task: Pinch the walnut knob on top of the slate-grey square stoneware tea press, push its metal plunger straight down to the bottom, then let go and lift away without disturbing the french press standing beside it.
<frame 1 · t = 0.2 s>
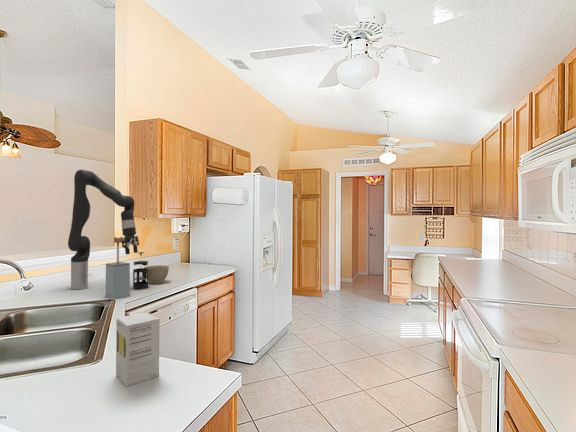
hand: (131, 253, 202), 23 cm above the worktop, tool pointing down, fingers open, 8 cm apart
french press: (141, 288, 210), on the worktop
plunger: (117, 258, 187), point 22 cm above the worktop, slide at 8.0 cm
planter bowl: (156, 283, 226), on the worktop
supplement box: (137, 376, 95), on the worktop
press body: (117, 296, 187), on the worktop
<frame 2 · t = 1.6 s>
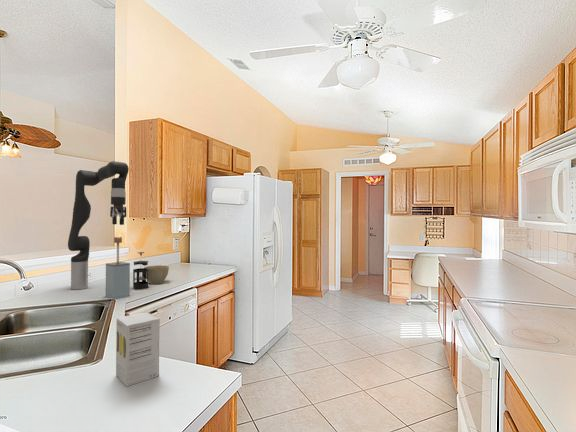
hand: (118, 224, 187), 41 cm above the worktop, tool pointing down, fingers open, 8 cm apart
nothing on the worktop moved.
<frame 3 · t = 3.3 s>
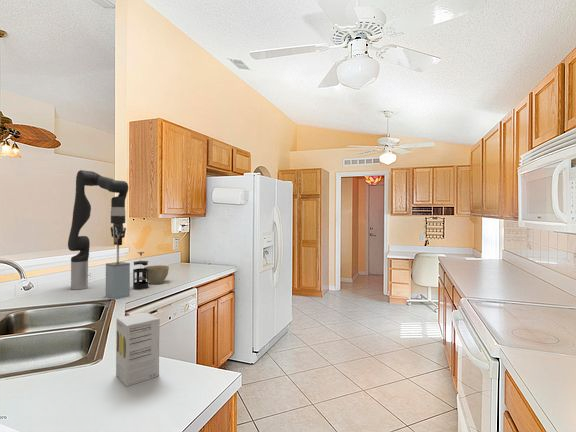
hand: (117, 244, 187), 30 cm above the worktop, tool pointing down, fingers closed on plunger, 4 cm apart
plunger: (117, 258, 187), point 22 cm above the worktop, slide at 8.0 cm, touching gripper
everything else where it was.
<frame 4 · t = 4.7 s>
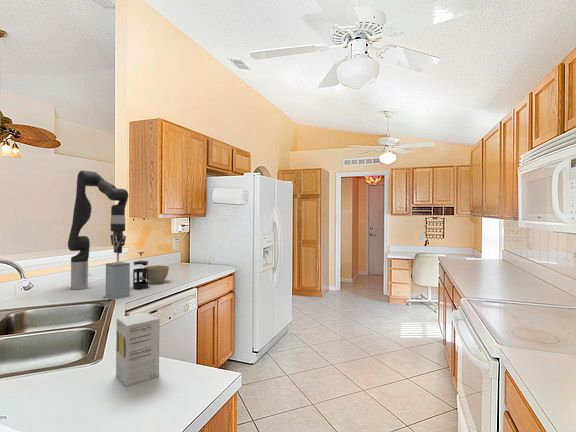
hand: (117, 252, 187), 25 cm above the worktop, tool pointing down, fingers closed on plunger, 4 cm apart
plunger: (117, 266, 187), point 17 cm above the worktop, slide at 3.4 cm, touching gripper
everything else where it was.
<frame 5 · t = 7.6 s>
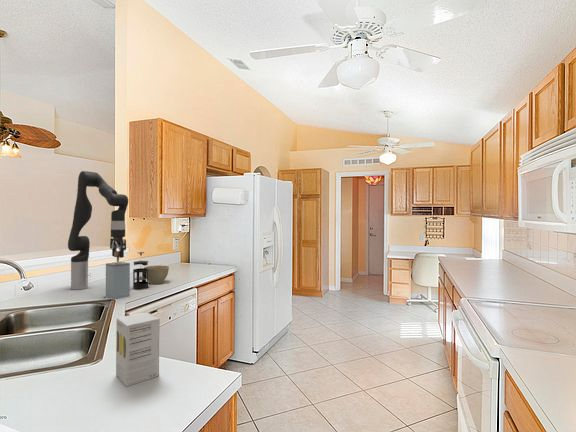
hand: (117, 256, 187), 23 cm above the worktop, tool pointing down, fingers open, 8 cm apart
plunger: (117, 272, 187), point 14 cm above the worktop, slide at -0.1 cm
everything else where it was.
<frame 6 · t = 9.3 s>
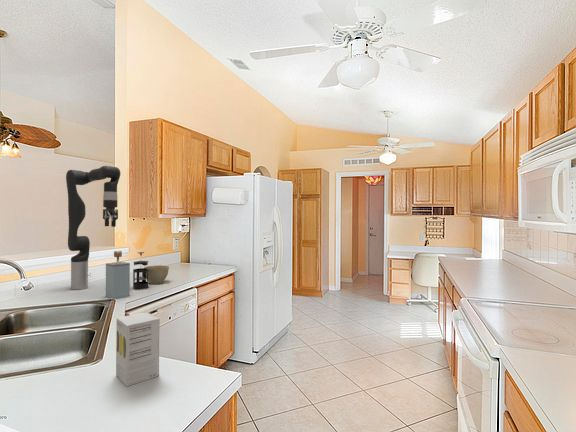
hand: (110, 226, 195), 40 cm above the worktop, tool pointing down, fingers open, 8 cm apart
nothing on the worktop moved.
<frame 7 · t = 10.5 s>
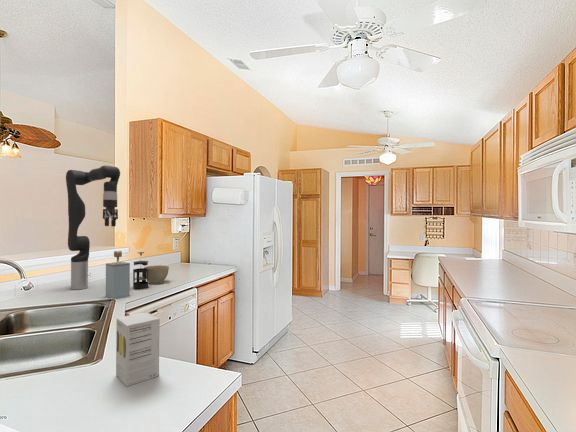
hand: (110, 226, 195), 40 cm above the worktop, tool pointing down, fingers open, 8 cm apart
nothing on the worktop moved.
at the end: plunger slide at -0.1 cm; the gripper is holding nothing; french press moved 0.2 cm from its start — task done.
